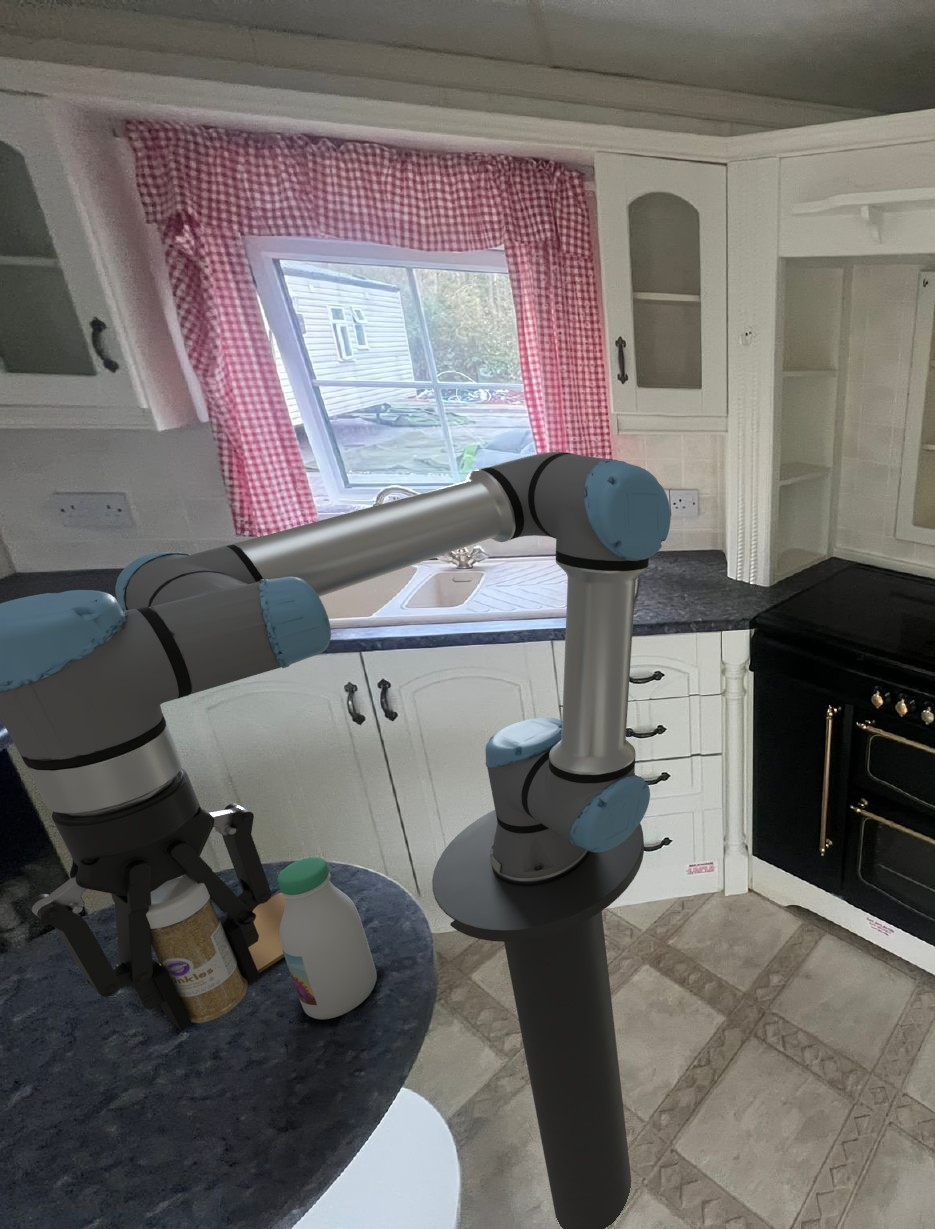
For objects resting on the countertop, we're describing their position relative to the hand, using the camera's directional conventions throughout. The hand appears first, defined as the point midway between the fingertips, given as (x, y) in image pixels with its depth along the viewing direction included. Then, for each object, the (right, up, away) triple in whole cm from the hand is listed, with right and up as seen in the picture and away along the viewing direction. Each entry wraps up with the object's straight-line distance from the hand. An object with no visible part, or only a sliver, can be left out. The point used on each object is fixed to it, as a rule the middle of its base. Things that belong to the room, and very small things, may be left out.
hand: (215, 996), depth 60 cm
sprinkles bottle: (0, -1, 0) cm, 1 cm away
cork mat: (-22, -10, +27) cm, 37 cm away
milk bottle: (-5, -13, +23) cm, 27 cm away
